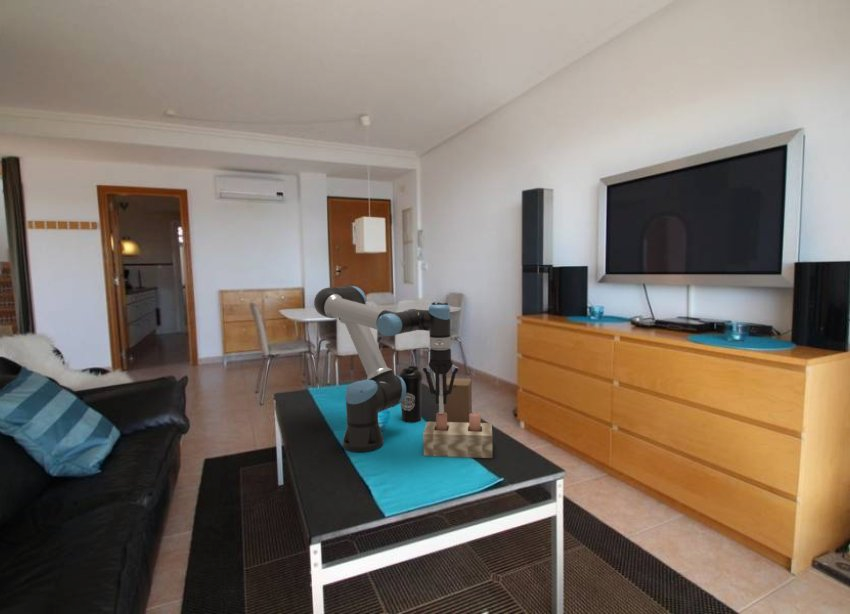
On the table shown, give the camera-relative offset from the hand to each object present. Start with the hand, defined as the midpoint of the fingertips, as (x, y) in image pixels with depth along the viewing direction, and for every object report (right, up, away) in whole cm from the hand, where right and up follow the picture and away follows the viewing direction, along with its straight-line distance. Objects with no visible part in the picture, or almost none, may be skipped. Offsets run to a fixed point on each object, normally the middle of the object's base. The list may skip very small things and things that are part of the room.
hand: (441, 412), depth 158 cm
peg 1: (0, -9, +1) cm, 9 cm away
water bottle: (-12, -11, +33) cm, 37 cm away
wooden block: (+8, -12, +20) cm, 25 cm away
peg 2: (+12, -9, -1) cm, 15 cm away
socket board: (+6, -14, +1) cm, 15 cm away
